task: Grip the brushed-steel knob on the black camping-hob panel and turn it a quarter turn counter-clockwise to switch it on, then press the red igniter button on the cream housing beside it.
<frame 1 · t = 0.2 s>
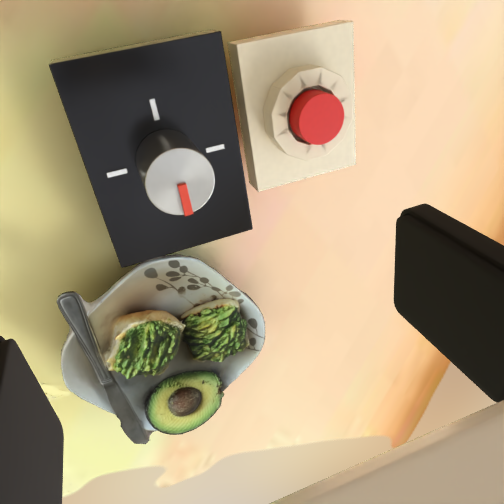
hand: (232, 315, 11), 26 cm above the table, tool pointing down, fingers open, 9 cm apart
igniter: (291, 105, 36), on the table
stove knob: (174, 171, 30), point 5 cm above the table, hinge at 0.0°
igniter button: (316, 117, 32), point 4 cm above the table, slide at 0.1 cm
salad plate: (167, 344, 42), on the table
hob panel: (161, 150, 34), on the table
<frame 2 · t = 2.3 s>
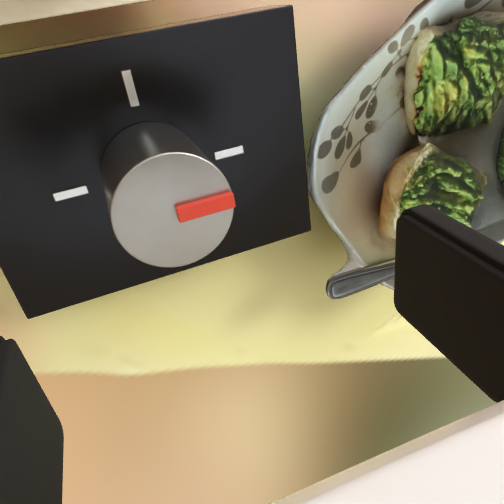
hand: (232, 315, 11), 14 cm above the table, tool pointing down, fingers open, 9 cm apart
stove knob: (163, 191, 18), point 5 cm above the table, hinge at 0.0°
salad plate: (445, 149, 28), on the table
hob panel: (144, 156, 22), on the table
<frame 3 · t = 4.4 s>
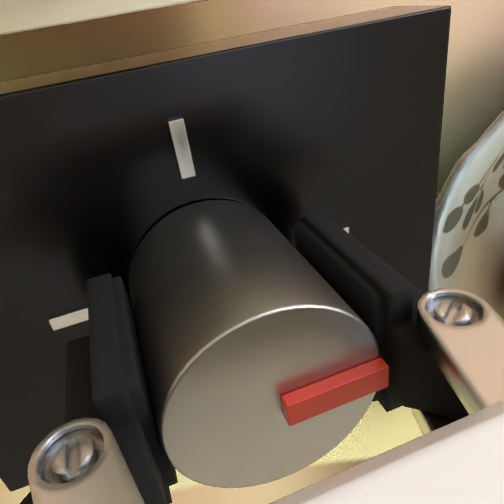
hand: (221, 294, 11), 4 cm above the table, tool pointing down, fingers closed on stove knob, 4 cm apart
stove knob: (239, 330, 10), point 5 cm above the table, hinge at 0.0°, touching gripper
hob panel: (190, 235, 14), on the table
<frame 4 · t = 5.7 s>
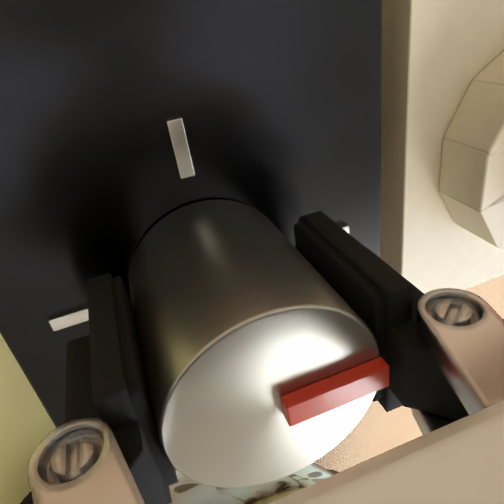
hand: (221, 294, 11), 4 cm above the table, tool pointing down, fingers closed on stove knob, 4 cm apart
igniter: (473, 125, 16), on the table
stove knob: (240, 330, 10), point 5 cm above the table, hinge at 90.2°, touching gripper
hob panel: (190, 234, 14), on the table
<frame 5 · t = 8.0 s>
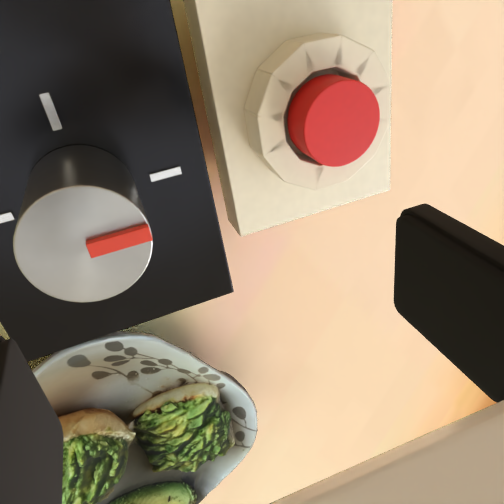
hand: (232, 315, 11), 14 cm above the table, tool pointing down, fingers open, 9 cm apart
igniter: (291, 102, 23), on the table
stove knob: (85, 220, 17), point 5 cm above the table, hinge at 89.6°
igniter button: (332, 120, 19), point 4 cm above the table, slide at 0.1 cm
salad plate: (117, 446, 29), on the table
hob panel: (82, 176, 21), on the table
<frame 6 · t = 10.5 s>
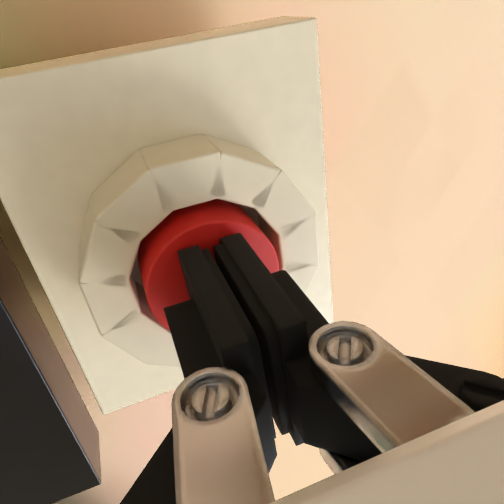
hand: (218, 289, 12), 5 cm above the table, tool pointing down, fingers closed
igniter: (181, 216, 15), on the table
igniter button: (207, 267, 12), point 4 cm above the table, slide at -0.7 cm, touching gripper
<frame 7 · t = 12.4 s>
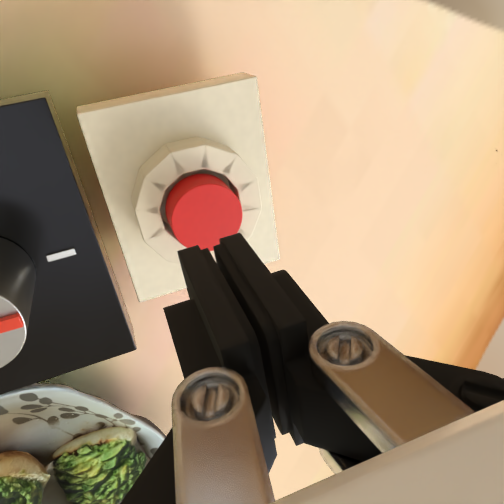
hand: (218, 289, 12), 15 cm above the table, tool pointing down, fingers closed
igniter: (185, 185, 26), on the table
igniter button: (203, 212, 22), point 4 cm above the table, slide at 0.1 cm
salad plate: (42, 483, 32), on the table
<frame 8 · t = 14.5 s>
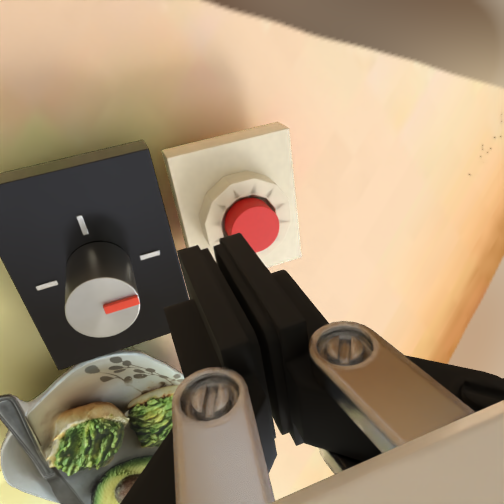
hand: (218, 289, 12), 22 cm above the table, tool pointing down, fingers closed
igniter: (233, 202, 35), on the table
stove knob: (101, 288, 29), point 5 cm above the table, hinge at 89.6°
igniter button: (251, 225, 32), point 4 cm above the table, slide at 0.1 cm
salad plate: (116, 429, 42), on the table
hob panel: (98, 253, 33), on the table
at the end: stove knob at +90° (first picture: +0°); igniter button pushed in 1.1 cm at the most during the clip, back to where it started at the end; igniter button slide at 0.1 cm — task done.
